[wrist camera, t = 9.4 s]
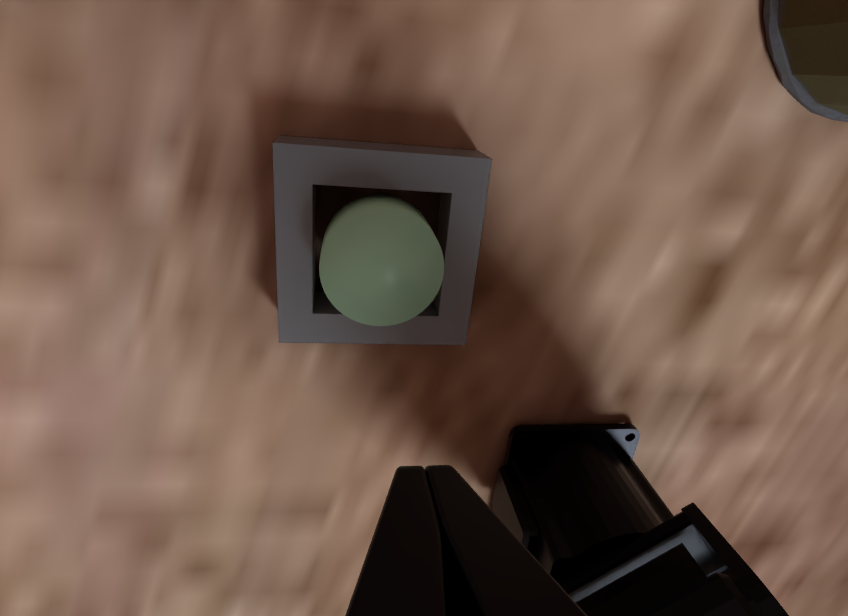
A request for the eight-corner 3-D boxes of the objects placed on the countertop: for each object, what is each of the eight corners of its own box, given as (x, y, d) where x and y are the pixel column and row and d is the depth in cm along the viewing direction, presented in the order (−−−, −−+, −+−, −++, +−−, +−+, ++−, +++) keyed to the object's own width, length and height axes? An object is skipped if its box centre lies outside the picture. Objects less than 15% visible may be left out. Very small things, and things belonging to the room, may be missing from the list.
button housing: (477, 150, 19) (491, 158, 17) (455, 322, 21) (465, 345, 20) (280, 135, 17) (272, 142, 16) (285, 318, 20) (278, 342, 18)
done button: (440, 197, 18) (450, 212, 16) (429, 303, 19) (437, 327, 17) (322, 191, 17) (319, 205, 15) (321, 300, 19) (318, 325, 17)
